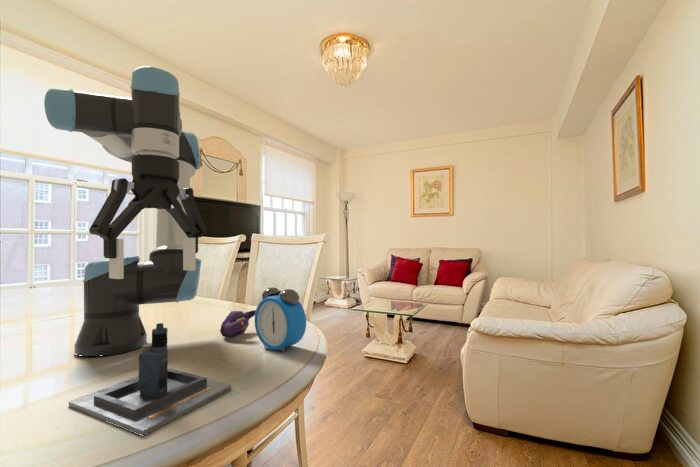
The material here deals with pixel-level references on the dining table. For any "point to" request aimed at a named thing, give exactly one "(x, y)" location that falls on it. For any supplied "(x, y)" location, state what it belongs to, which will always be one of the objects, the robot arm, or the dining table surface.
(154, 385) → the vaping device
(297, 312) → the alarm clock
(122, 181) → the robot arm
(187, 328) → the dining table surface
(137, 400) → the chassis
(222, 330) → the toy
